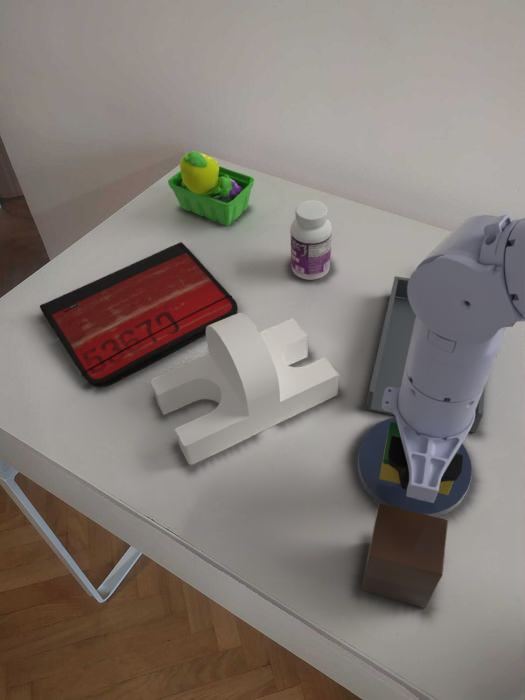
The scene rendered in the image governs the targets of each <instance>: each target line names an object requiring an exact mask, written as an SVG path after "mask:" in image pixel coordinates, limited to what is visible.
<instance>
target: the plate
mask: <svg viewBox="0 0 525 700" xmlns="http://www.w3.org/2000/svg"><path fill="white" fill-rule="evenodd" d="M390 422H395V423H397V420H396V417H395V416H393V417H389V418H387V419H384V420H382V421H380V422H379V423H376V424H375V425H374V426H373V427H371V429H370V430H368V432H367V433H366V434H365V435H364V436H363V438H362V441H361V442H360V446H359V449H358V454H357V472H358V476H359V480H360V482H361V484H362V486H363V488H364V489H365V491H366V493H367V494H368V495H369V496H370V497H371V499H372V500H373V501H375V502H376V503H377V504H378V505H379V503H380V504H384V505H388V506H392V507H396V508H401V509H405V510H409V511H413V512H417V513H421V514H425V515H429V516H433V517H437V518H440V517H442V516H444V515H446V514H448V513H450V512H451V511H453V510H455V509H456V508H457V507H458V506H459V505H460V504H461V503H462V501H463V500H464V498H465V497H466V495H467V492H468V490H469V488H470V485H471V482H472V476H473V467H472V460H471V458H470V455H469V453H468V451H467V449H466V447H465V445H464V444H463V443H462V444H461V446H460V447H459V449H458V454H461V455H463V464H462V472H461V474H460V476H459V477H458V479H457V480H456V481H454V482H453V484H452V487H451V489H450V491H449V494H448V495H445V494H441V493H437V496H436V499H435V501H434V503H431V502H427V501H422V500H418V499H414V498H410V497H407V496H406V494H407V490H405V489H403V488H402V487H401V484H399V483H395V482H391V481H387V480H382V479H380V472H381V467H382V462H383V456H384V451H385V446H386V441H387V436H388V431H389V426H390Z"/></svg>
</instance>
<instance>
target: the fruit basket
mask: <svg viewBox="0 0 525 700" xmlns="http://www.w3.org/2000/svg"><path fill="white" fill-rule="evenodd" d="M179 169H180V170H179V171H178V172H176V173H175V174H174V175H172V176H171V177H170V178H169V179H167V184H168V186H169V187H170V189H171V190H172V191H173V193H174V195H175V197H176V199H177V202H178V203H179V205H180V207H181V209H182V210H184V211H188V212H190V213H191V212H192V213H194V214H195V215H198V216H201V217H205V218H206V219H208V220H211V221H213V222H218V224H219V223H220V224H221V225H224V226H226V227H229V226H231V224H232V222H235V220H237V219H238V218H239V217H240V216H241V215H242V214H243V212H245V211H246V210H248V207H249V202H250V198H251V193H252V189H253V186H254V183H255V178H254V177H253V176H250V175H247V174H244V173H242V172H238V171H235V170H232V169H230V168H227V167H224V166H221V165H219V162H217V160H216V159H215V158H213V157H211V156H209V155H208V154H207V155H206V154H204V153H201V152H199V151H197V150H190V151H189V152H187V153H185V154H184V155H183V156H182V158H181V159H180V162H179Z"/></svg>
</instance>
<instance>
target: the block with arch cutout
mask: <svg viewBox="0 0 525 700" xmlns="http://www.w3.org/2000/svg"><path fill="white" fill-rule="evenodd" d="M308 338H309V336H308V334H307V333H306V331H304V330H303V329H302V327H301V325H300V324H299V323H298V322H297V321H296V320H295V318H294V317H292V318H290V319H287V320H285V321H283V322H280V323H277V324H276V325H274V326H271V327H268V328H266V329H264V330H262V331H259V329H258V328H257V326H256V325H255V323H254V322H253V321H252V320H251V319H250V317H249V316H248V315H246V314H245V313H243V312H237V314H235V315H232V316H230V317H228V318H225V319H223V320H220V321H218V322H215V323H213V324H211V325H208V326H207V327H206V335H205V339H206V343H207V344H206V345H207V349H208V354H205V355H203V356H201V357H198V358H196V359H193V360H191V361H188V362H187V363H184V364H182V365H180V366H177V367H174V368H172V369H170V370H168V371H165V372H163V373H161V374H159V375H158V374H157V375H156V376H154V377H153V378H151V381H150V383H151V386H152V390H153V392H154V395H155V399H156V401H157V405H158V407H159V409H160V411H161V412H162V415H163V416H166V415H168V414H170V413H172V412H174V411H176V410H179V409H181V408H183V407H185V406H187V405H189V404H192V403H194V402H197V401H200V400H211V401H213V402H216V403H218V404H217V406H216V407H215V408H214V409H213V410H212V411H210V412H208V413H206V414H204V415H202V416H199V417H197V418H195V419H193V420H191V421H189V422H186V423H184V424H182V425H180V426H177V427H175V428H174V431H175V435H176V437H177V442H178V444H179V448H180V450H181V452H182V454H183V455H184V458H185V460H186V462H187V463H188V465H190V466H193V465H196V464H197V463H200V462H202V461H203V460H206V459H208V458H210V457H212V456H214V455H217V454H218V453H220V452H223V451H225V450H227V449H229V448H231V447H233V446H235V445H237V444H239V443H242V442H244V441H245V440H247V439H249V438H252V437H253V436H255V435H257V434H260V433H262V432H264V431H265V430H268V429H270V428H272V427H275V426H276V425H278V424H280V423H283V422H285V421H287V420H289V419H291V418H292V417H295V416H297V415H299V414H301V413H303V412H305V411H308V410H309V409H311V408H314V407H316V406H318V405H320V404H322V403H324V402H326V401H329V400H330V399H332V398H334V397H337V396H338V392H339V379H340V374H339V372H338V371H337V370H336V369H335V368H334V366H332V364H331V362H330V361H329V360H328V359H327V358H326V356H324V357H322V358H320V359H319V358H318V359H317V360H315V361H312V362H311V363H309V364H307V365H303V366H299V367H297V366H291V365H292V364H295V363H297V362H299V361H301V360H304V359H307V358H308V353H309V352H308V351H309V350H308V341H309V339H308Z"/></svg>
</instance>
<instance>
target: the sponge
mask: <svg viewBox="0 0 525 700" xmlns="http://www.w3.org/2000/svg"><path fill="white" fill-rule="evenodd" d="M391 436H396V437H400V438H401V436H400V432H399V428H398V424H397V423H395V422H390V426H389V431H388V436H387V441H386V446H385V451H384V456H383V462H382V467H381V472H380V479H382V480H387V481H391V482H395V483H399V484H400V479H399V474H398V471H397V470H396V469H394V468H393V467H391V466H390V465H389V461H388V451H389V446H390V440H391ZM456 453H457V454H458V451H457V452H456ZM453 482H454V481H444V482H440V485H439V491H438V493H441V494H445V495H448V494H449V491H450V489H451V487H452V484H453Z"/></svg>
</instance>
